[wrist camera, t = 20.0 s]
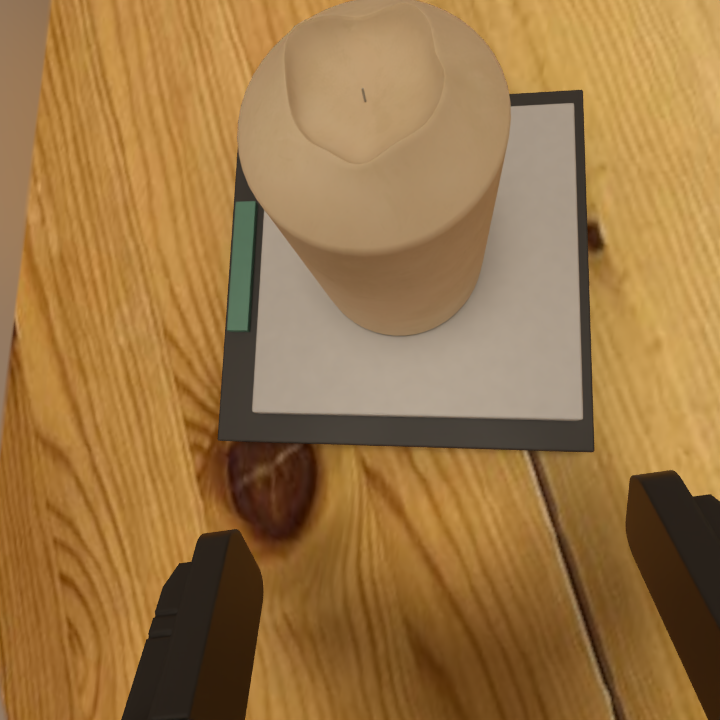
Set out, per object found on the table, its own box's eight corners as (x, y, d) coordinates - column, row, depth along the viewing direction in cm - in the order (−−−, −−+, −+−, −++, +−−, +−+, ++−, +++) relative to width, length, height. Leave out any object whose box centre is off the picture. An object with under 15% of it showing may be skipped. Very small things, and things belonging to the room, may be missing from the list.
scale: (240, 441, 23) (207, 440, 20) (259, 141, 25) (232, 97, 22) (578, 451, 21) (601, 452, 18) (568, 126, 23) (588, 74, 20)
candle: (291, 271, 20) (147, 102, 10) (393, 156, 20) (346, -119, 10) (408, 371, 19) (372, 286, 9) (515, 248, 19) (592, 36, 9)
